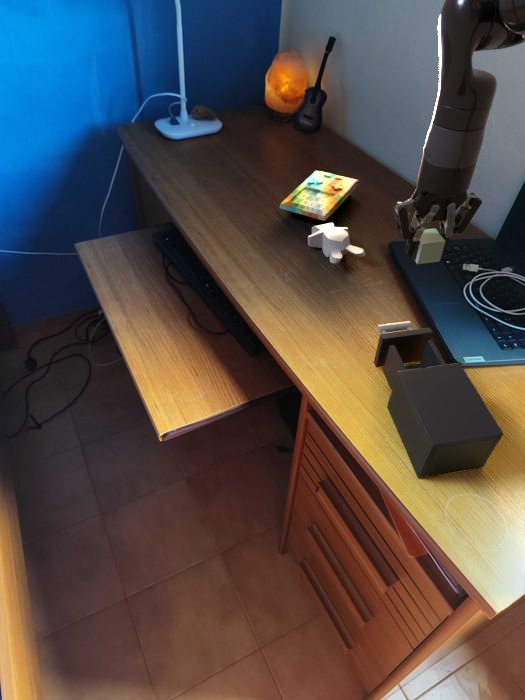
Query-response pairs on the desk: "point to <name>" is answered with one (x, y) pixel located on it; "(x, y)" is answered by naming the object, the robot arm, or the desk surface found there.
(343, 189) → the puzzle game
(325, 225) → the bunny figurine
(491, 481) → the desk surface
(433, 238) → the block
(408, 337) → the drawer
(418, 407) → the dark box
